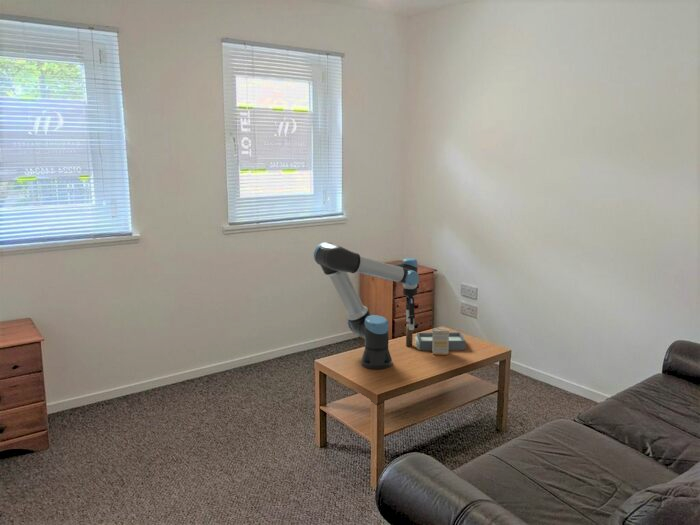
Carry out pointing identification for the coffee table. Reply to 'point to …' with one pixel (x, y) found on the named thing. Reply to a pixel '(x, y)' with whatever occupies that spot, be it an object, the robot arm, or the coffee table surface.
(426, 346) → the box
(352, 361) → the coffee table surface
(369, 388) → the coffee table surface
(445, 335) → the supplement box
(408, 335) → the peg
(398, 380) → the coffee table surface
